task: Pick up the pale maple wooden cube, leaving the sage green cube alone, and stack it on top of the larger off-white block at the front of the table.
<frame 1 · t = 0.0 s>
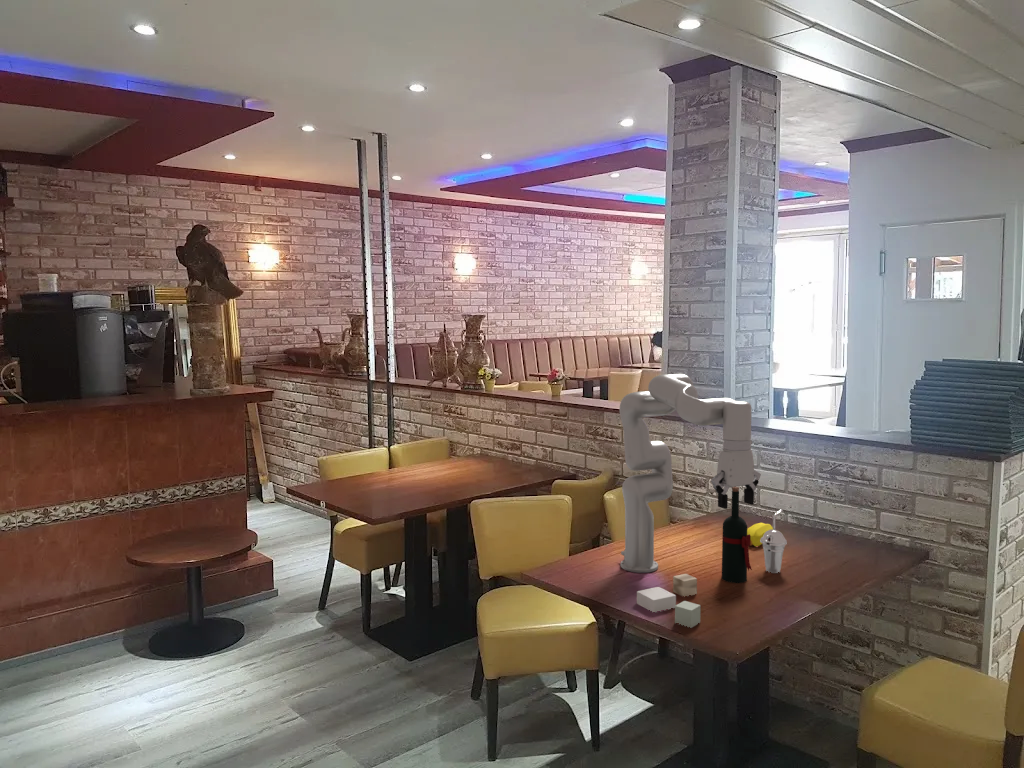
hand: (735, 505, 209), 31 cm above the table, tool pointing down, fingers open, 9 cm apart
wine bottle: (737, 580, 238), on the table
maple cube: (684, 593, 228), on the table
sage cube: (687, 623, 205), on the table
base block: (656, 606, 218), on the table
yellow rounded lump: (758, 543, 278), on the table
cup with straw: (773, 571, 247), on the table
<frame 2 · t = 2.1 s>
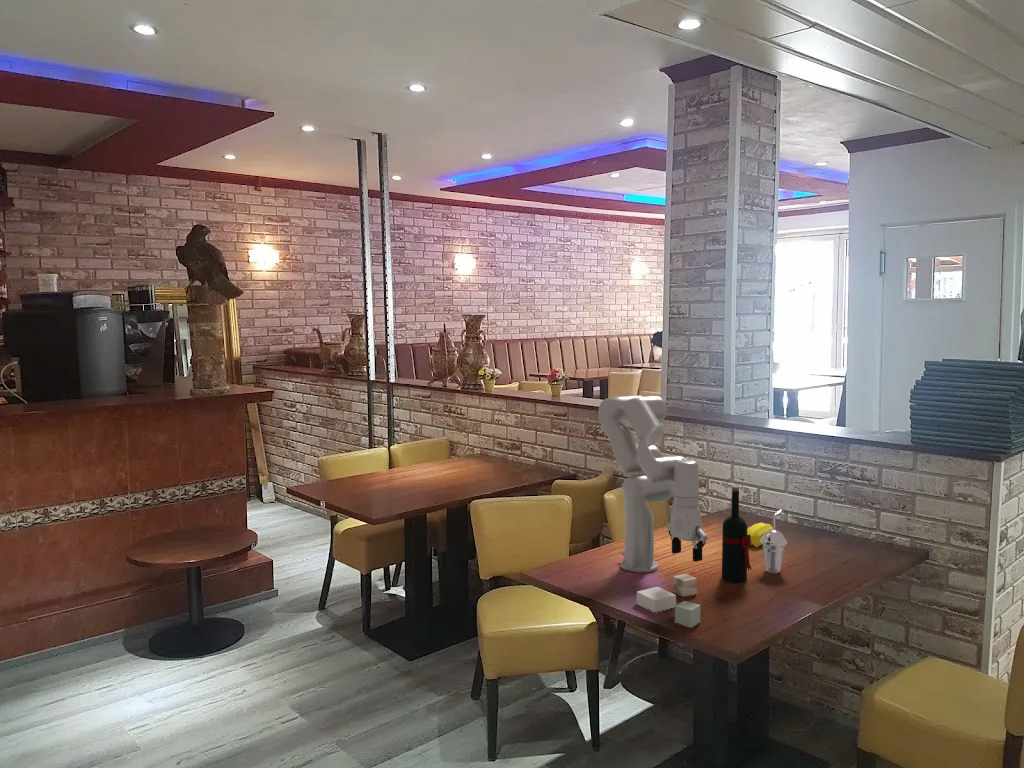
hand: (686, 556, 226), 12 cm above the table, tool pointing down, fingers open, 9 cm apart
nothing on the table moved.
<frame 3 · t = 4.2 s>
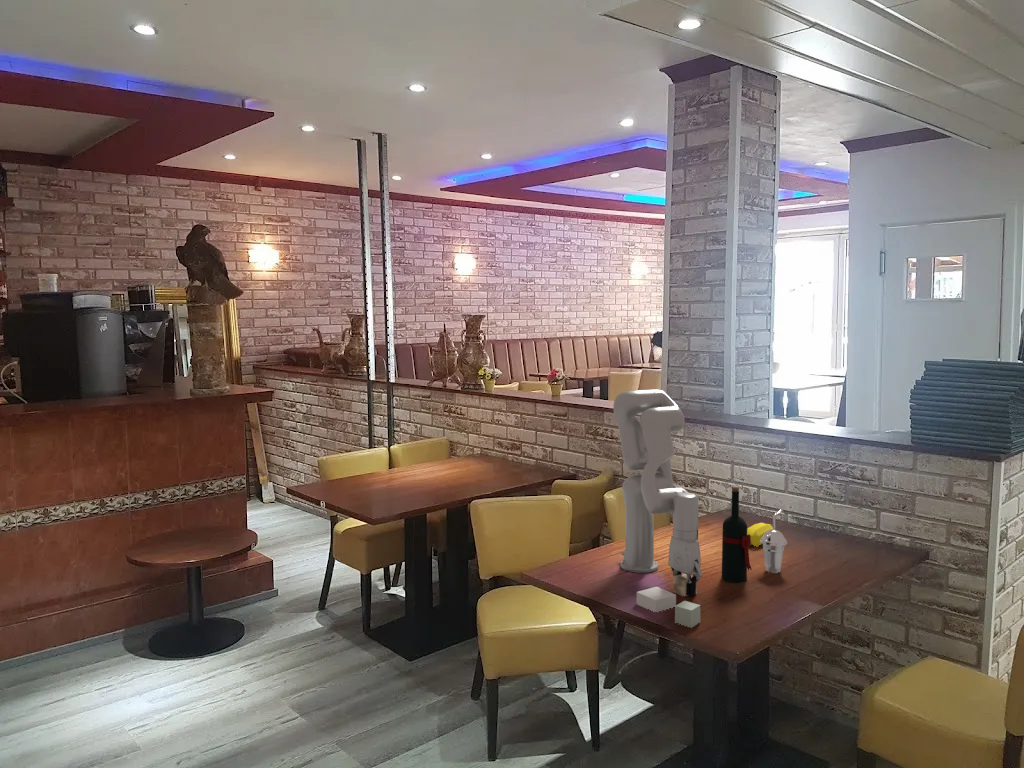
hand: (684, 591, 227), 0 cm above the table, tool pointing down, fingers closed on maple cube, 5 cm apart
maple cube: (684, 593, 228), on the table, touching gripper
everything else where it was.
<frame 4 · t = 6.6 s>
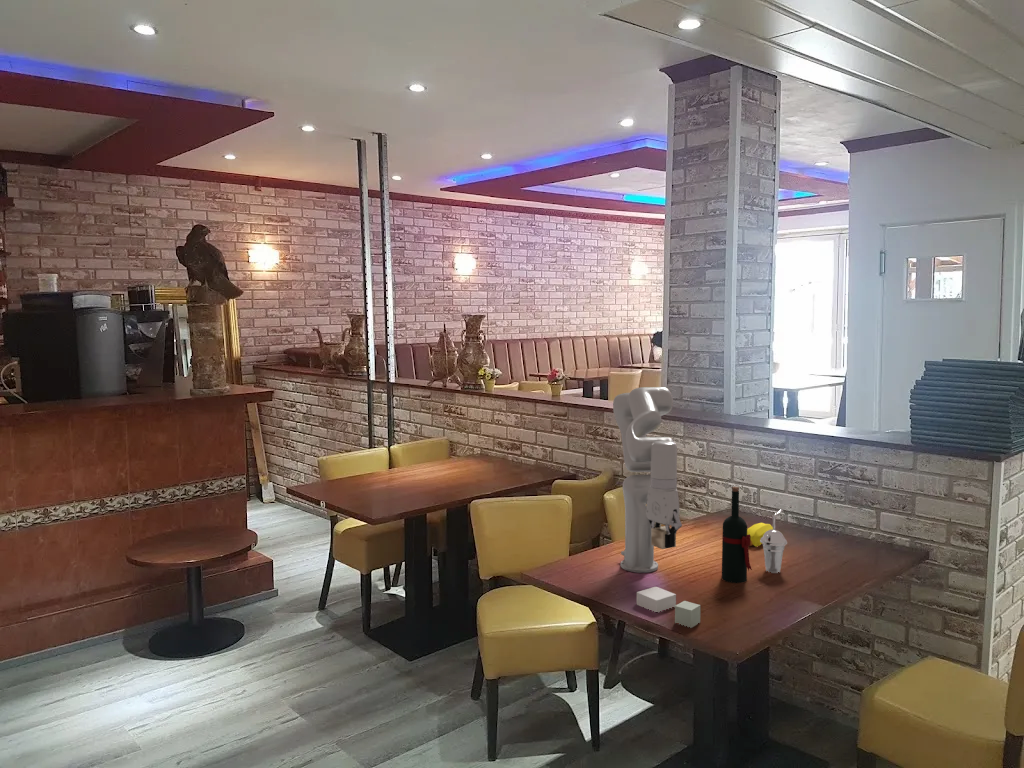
hand: (663, 544, 218), 18 cm above the table, tool pointing down, fingers closed on maple cube, 4 cm apart
maple cube: (663, 545, 218), point 17 cm above the table, touching gripper
everything else where it was.
when the fingers open (6 cm above the table, at t = 9.0 s): maple cube drops 2 cm, point 4 cm above the table.
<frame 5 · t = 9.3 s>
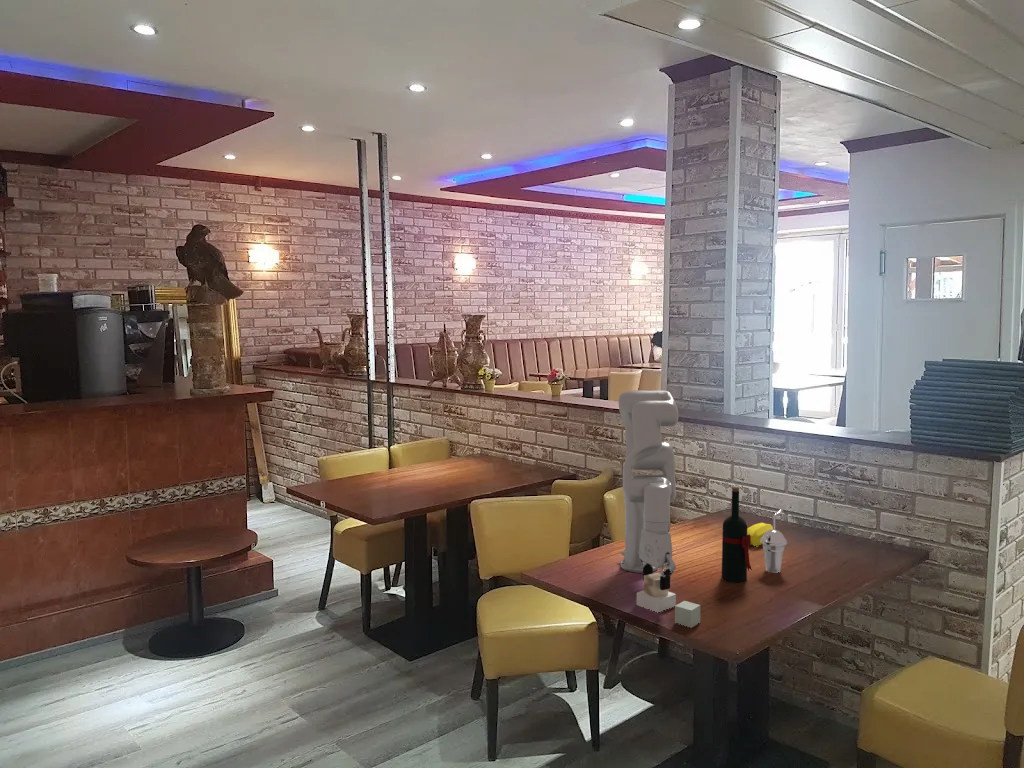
hand: (656, 584, 217), 6 cm above the table, tool pointing down, fingers open, 7 cm apart
maple cube: (655, 593, 218), point 4 cm above the table
everything else where it was.
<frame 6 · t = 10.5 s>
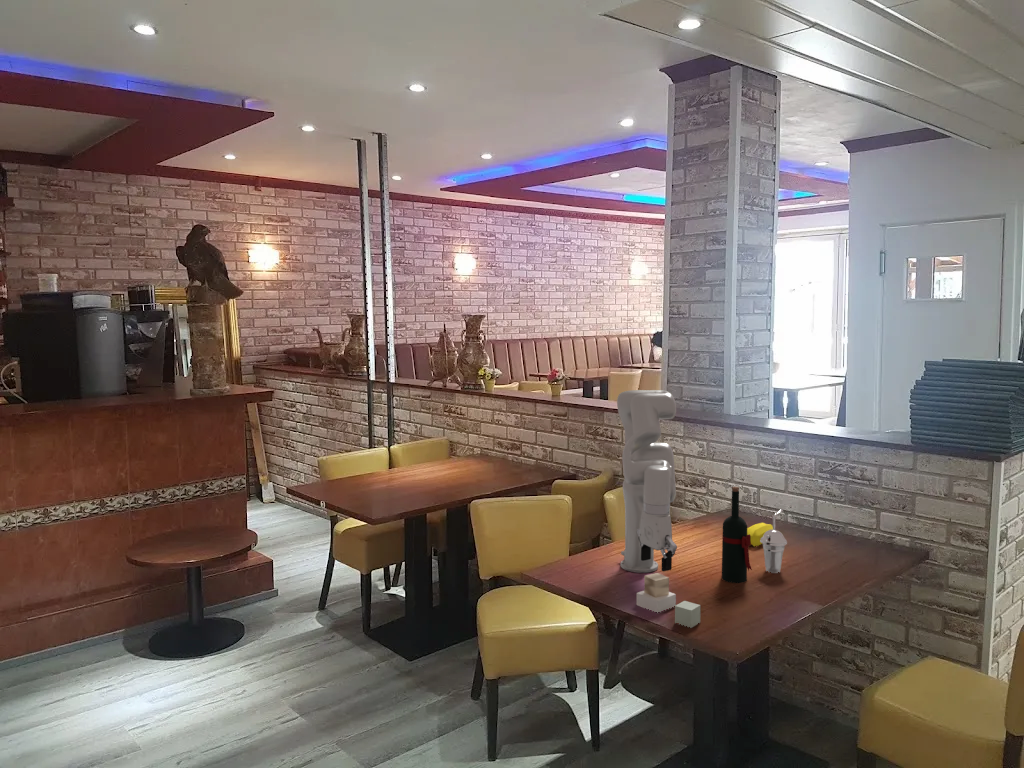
hand: (656, 565, 217), 12 cm above the table, tool pointing down, fingers open, 9 cm apart
maple cube: (656, 593, 217), point 4 cm above the table, touching base block
base block: (656, 606, 218), on the table, touching maple cube
everything else where it was.
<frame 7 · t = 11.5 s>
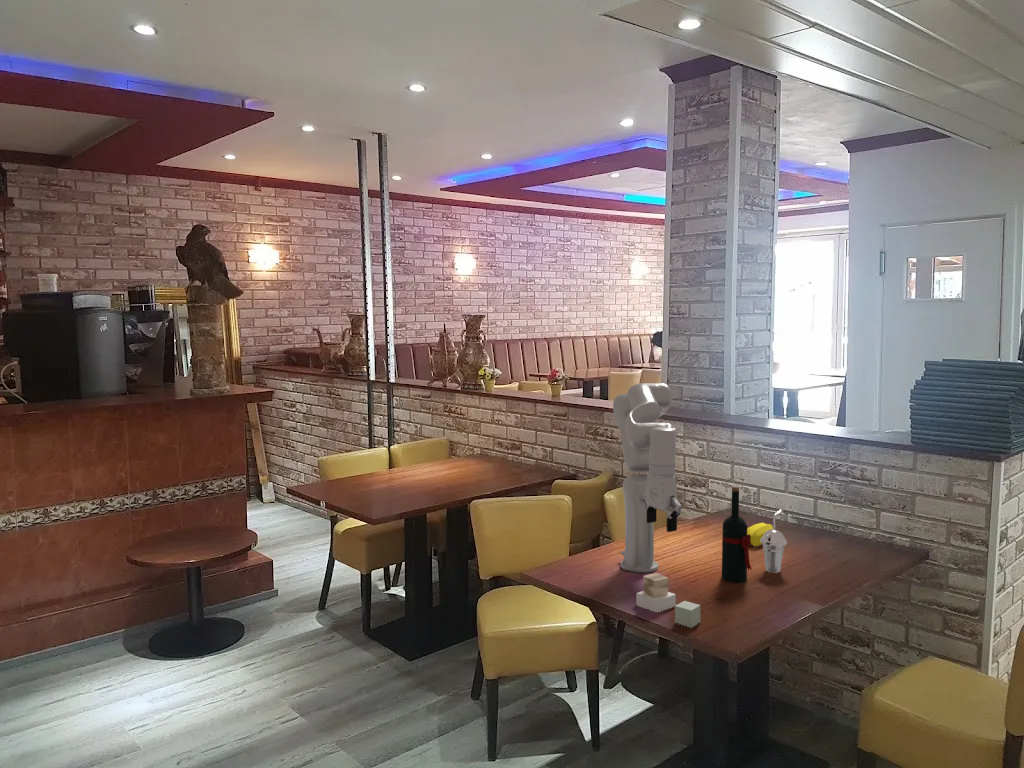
hand: (661, 526, 218), 23 cm above the table, tool pointing down, fingers open, 9 cm apart
maple cube: (655, 593, 217), point 4 cm above the table
base block: (655, 606, 218), on the table
everything else where it was.
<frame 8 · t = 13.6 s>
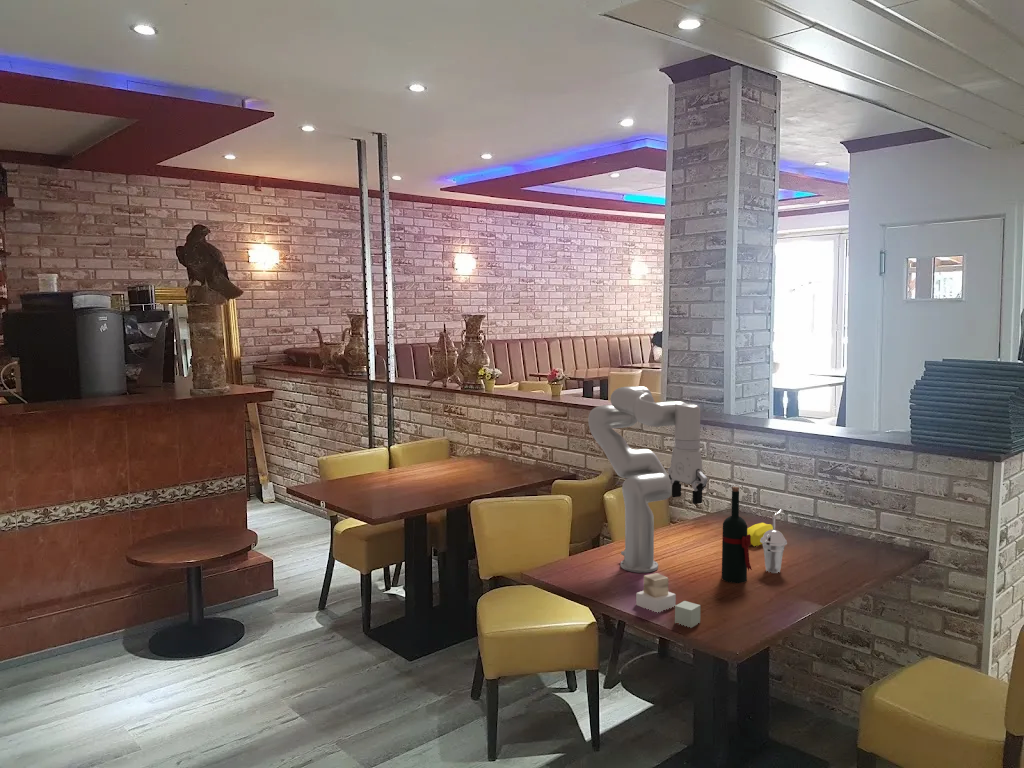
hand: (686, 499, 228), 28 cm above the table, tool pointing down, fingers open, 9 cm apart
maple cube: (655, 593, 217), point 4 cm above the table, touching base block
base block: (655, 606, 218), on the table, touching maple cube
everything else where it was.
at the end: maple cube 0.0 cm off-centre on the base block, point 4.0 cm above the base block's base; maple cube tilted 0°; the gripper is holding nothing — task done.
